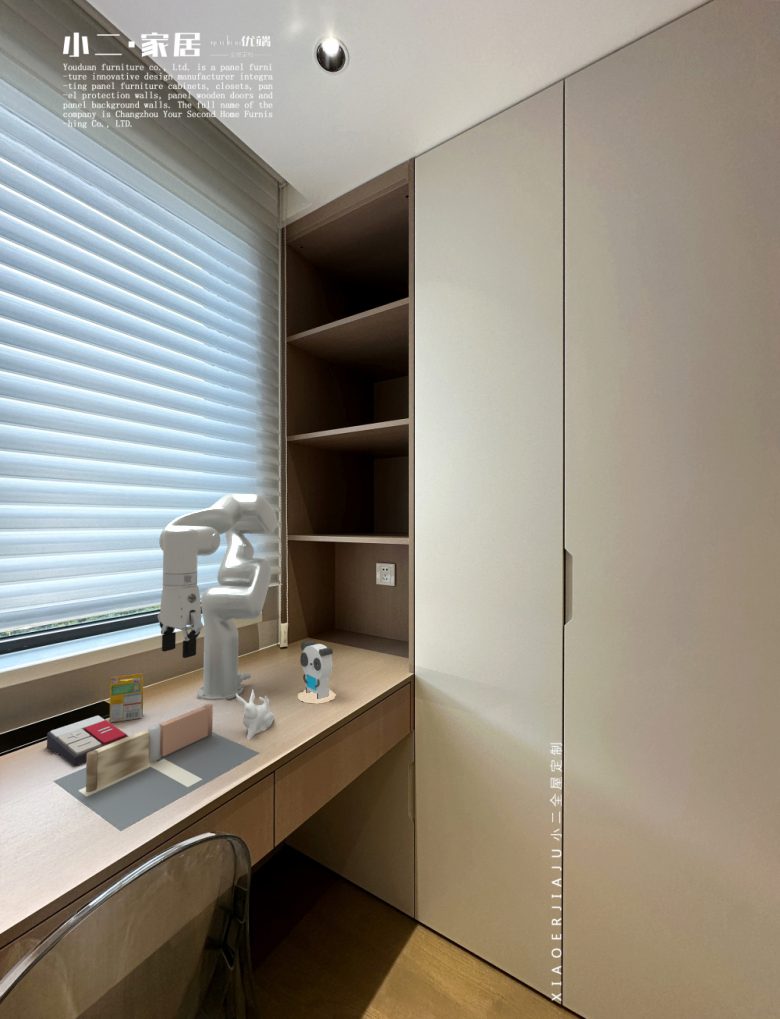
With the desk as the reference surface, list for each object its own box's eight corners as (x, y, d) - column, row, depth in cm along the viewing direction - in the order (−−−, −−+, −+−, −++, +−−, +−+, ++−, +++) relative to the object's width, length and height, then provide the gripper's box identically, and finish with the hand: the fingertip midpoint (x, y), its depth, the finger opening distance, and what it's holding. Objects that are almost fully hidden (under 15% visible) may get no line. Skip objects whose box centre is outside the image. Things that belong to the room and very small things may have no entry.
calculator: (75, 753, 96) (46, 729, 104) (74, 774, 96) (45, 748, 104) (130, 733, 105) (99, 712, 113) (129, 751, 105) (98, 729, 113)
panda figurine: (288, 694, 136) (289, 643, 136) (320, 685, 144) (321, 636, 144) (310, 707, 127) (311, 653, 127) (344, 697, 135) (344, 645, 135)
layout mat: (191, 725, 116) (191, 722, 116) (260, 755, 102) (260, 752, 102) (53, 784, 90) (53, 780, 90) (120, 834, 77) (120, 830, 77)
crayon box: (142, 713, 122) (143, 669, 122) (142, 718, 119) (143, 673, 119) (110, 718, 119) (111, 673, 119) (109, 723, 116) (110, 677, 116)
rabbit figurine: (246, 745, 107) (247, 703, 107) (222, 737, 110) (223, 696, 110) (281, 724, 118) (281, 686, 118) (258, 718, 121) (259, 681, 121)
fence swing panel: (208, 730, 111) (208, 703, 111) (214, 733, 110) (215, 705, 110) (144, 759, 98) (145, 728, 98) (151, 762, 97) (151, 731, 97)
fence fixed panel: (143, 763, 97) (144, 729, 97) (148, 765, 96) (149, 732, 96) (84, 790, 88) (84, 753, 88) (88, 793, 87) (89, 756, 87)
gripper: (216, 581, 109) (215, 656, 109) (173, 574, 118) (172, 643, 118) (187, 585, 103) (186, 664, 103) (144, 577, 112) (143, 650, 112)
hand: (178, 652), depth 111 cm, fingers open, 7 cm apart
